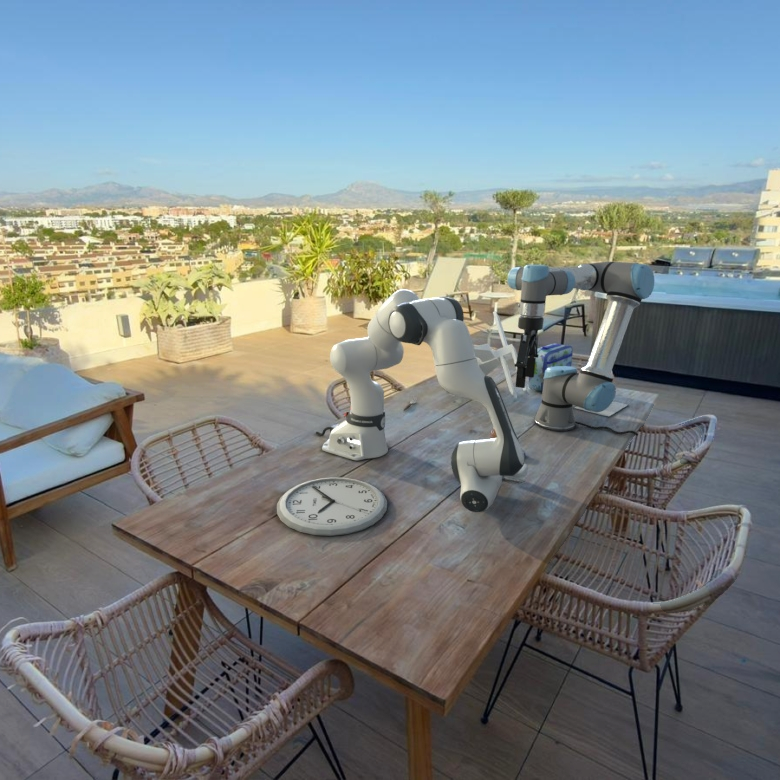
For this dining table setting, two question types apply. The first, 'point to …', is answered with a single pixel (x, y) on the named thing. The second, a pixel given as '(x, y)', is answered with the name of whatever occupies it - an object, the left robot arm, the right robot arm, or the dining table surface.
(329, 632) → the dining table surface
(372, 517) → the wall clock
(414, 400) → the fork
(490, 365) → the white plastic object
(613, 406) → the invitation card
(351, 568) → the dining table surface
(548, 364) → the lunch box
